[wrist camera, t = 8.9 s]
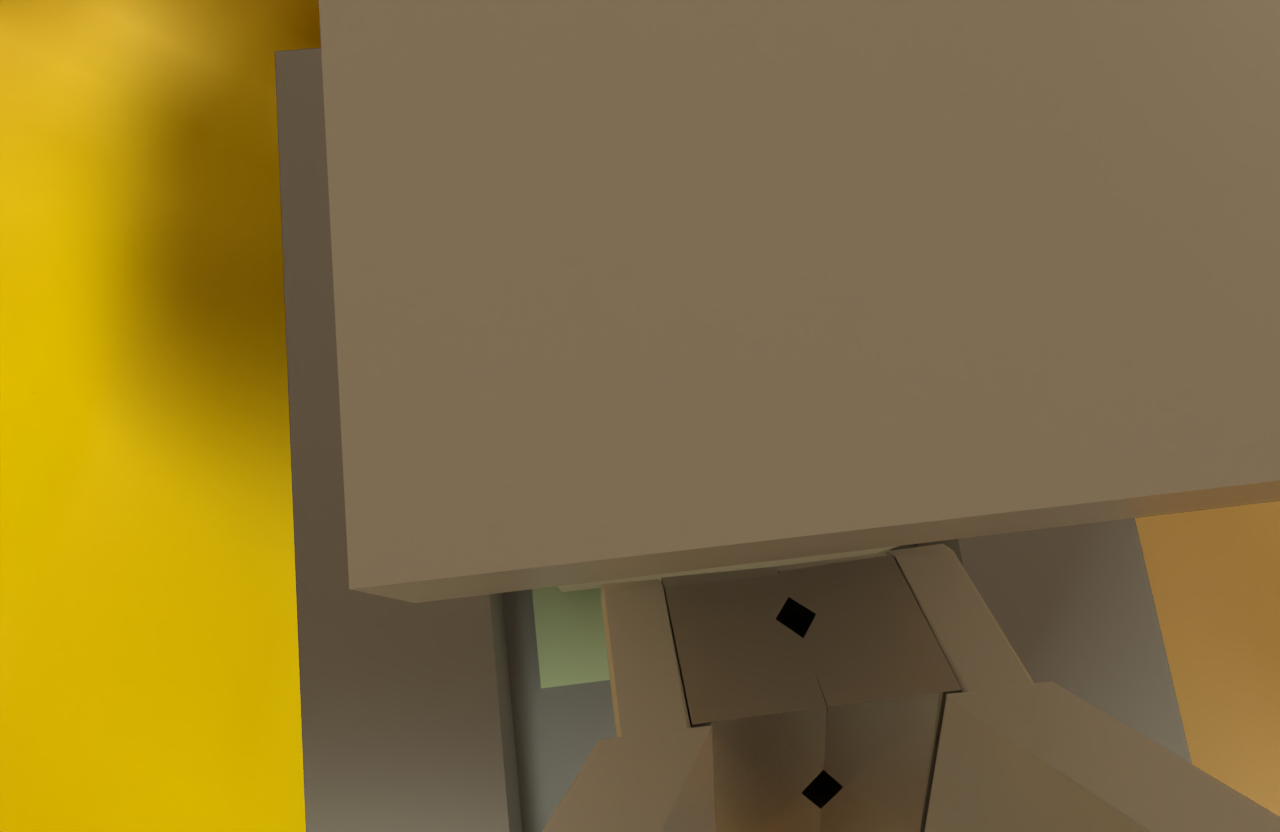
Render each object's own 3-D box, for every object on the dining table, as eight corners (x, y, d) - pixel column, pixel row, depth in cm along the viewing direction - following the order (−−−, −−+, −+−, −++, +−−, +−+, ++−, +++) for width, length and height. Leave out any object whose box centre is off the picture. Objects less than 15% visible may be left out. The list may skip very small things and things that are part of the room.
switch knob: (904, 582, 13) (1646, 437, 4) (534, 627, 12) (349, 587, 3) (843, 239, 14) (1301, -527, 5) (501, 272, 13) (293, -479, 4)
